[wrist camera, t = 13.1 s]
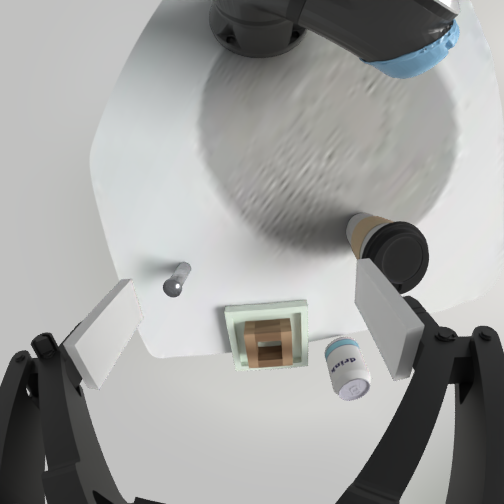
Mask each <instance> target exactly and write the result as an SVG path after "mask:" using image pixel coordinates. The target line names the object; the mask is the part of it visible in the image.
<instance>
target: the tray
mask: <svg viewBox="0 0 504 504" xmlns="http://www.w3.org/2000/svg"><path fill="white" fill-rule="evenodd" d="M224 314H225V319H226V324H227V329H228V334H229V340H230V345H231V350H232V354H233V359H234V364H235V369H236V371H248V370H266V369H280V368H292V367H302V366H308V304H307V300H299V301H289V302H277V303H265V304H252V305H238V306H226V307H225V311H224ZM284 318H290V323H291V330H292V354H293V365H290V366H278V367H264V368H249V365H248V359H247V353H246V346H245V340H244V327H245V321H258V320H272V319H284ZM279 345H281V341H268V342H258V347H266V346H279Z"/></svg>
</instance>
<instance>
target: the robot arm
mask: <svg viewBox="0 0 504 504" xmlns="http://www.w3.org/2000/svg"><path fill="white" fill-rule="evenodd" d="M460 12H461V9H460V4H459V0H214V1H213V3H212V6H211V9H210V14H209V21H210V26H211V29H212V31H213V33H214V35H215V37H216V38H217V40H218V41H219V42H220V43H221V44H222V45H223V46H224V47H226V48H227V49H229V50H230V51H232V52H234V53H237V54H239V55H243V56H247V57H254V58H266V57H273V56H277V55H280V54H283V53H286V52H288V51H290V50H291V49H293V48H294V47H296V46H297V45H298V44H299V43H300V42H301V41H302V39H303V38H304V36H305V34H306V32H307V29H308V30H310V31H312V32H314V33H316V34H318V35H320V36H322V37H324V38H326V39H328V40H330V41H332V42H334V43H335V44H337V45H339V46H341V47H343V48H344V49H346V50H348V51H349V52H351V53H353V54H354V55H356V56H358V57H359V59H360V60H361V61H362V62H364V63H366V64H369V65H372V66H374V67H375V68H377V69H378V70H380V71H382V72H383V73H385V74H386V75H388V76H390V77H393V78H400V79H405V78H411V77H414V76H417V75H419V74H422V73H424V72H425V71H427V70H429V69H430V68H432V67H433V66H435V65H436V64H438V63H439V62H440V61H441V60H442V59H443V58H445V57H446V56H447V54H448V50H449V49H450V48H452V47H454V46H455V44H456V42H457V40H458V38H459V33H460V31H459V26H458V25H457V23H456V20H455V19H454V18H455V17H456V16H457V15H458V14H459V13H460ZM355 304H356V306H357V308H358V310H359V312H360V313H361V315H362V317H363V319H364V321H365V323H366V325H367V327H368V329H369V331H370V333H371V335H372V337H373V339H374V341H375V343H376V345H377V347H378V349H379V351H380V353H381V355H382V357H383V359H384V361H385V363H386V366H387V368H388V370H389V372H390V374H391V376H392V379H393V381H396V380H400V379H405V378H408V377H410V374H411V371H412V368H413V369H414V370H415V372H414V374H413V377H412V379H411V381H410V384H409V386H408V388H407V390H406V392H405V395H404V397H403V399H402V401H401V403H400V405H399V407H398V409H397V411H396V413H395V415H394V417H393V419H392V421H391V422H390V425H389V426H388V428H387V430H386V432H385V433H384V435H383V437H382V439H381V440H380V442H379V444H378V445H377V447H376V449H375V450H374V452H373V454H372V455H371V457H370V458H369V460H368V462H367V463H366V464H365V466H364V468H363V469H362V470H361V472H360V473H359V475H358V476H357V478H356V479H355V480H354V482H353V483H352V484H351V485H350V486H349V487H348V488H347V490H346V491H345V492H344V493H343V495H342V496H341V497H340V498H339V500H338V501H337V502H336V503H335V504H399V500H400V498H401V496H402V494H403V492H404V491H405V489H406V487H407V485H408V483H409V481H410V479H411V477H412V476H413V474H414V472H415V469H416V467H417V465H418V463H419V461H420V459H421V457H422V455H423V452H424V450H425V448H426V445H427V443H428V441H429V438H430V436H431V433H432V430H433V428H434V425H435V423H436V420H437V417H438V414H439V411H440V408H441V405H442V402H443V399H444V395H445V392H446V389H447V385H448V384H455V435H454V450H453V461H452V470H451V476H450V483H449V489H448V494H447V499H446V504H504V352H503V349H502V346H501V342H500V339H499V336H498V334H497V332H496V331H495V330H494V329H492V328H490V327H488V326H478V327H476V328H475V329H474V331H473V333H472V336H469V337H458V336H457V334H456V332H455V331H453V330H452V329H450V328H447V327H439V326H438V324H437V323H436V322H435V321H434V319H433V318H432V317H431V316H430V315H429V313H428V312H426V310H425V309H424V307H422V305H421V304H420V303H419V302H418V300H416V299H414V298H412V297H411V296H405V297H402V296H401V295H400V294H399V293H398V291H397V290H396V289H395V288H394V286H393V285H392V284H391V283H390V282H389V280H388V279H387V278H386V277H385V276H384V275H383V273H382V272H381V271H380V270H379V269H378V268H377V266H376V265H375V264H374V263H373V262H372V261H371V260H370V258H367V259H358V260H357V268H356V289H355ZM143 318H144V316H143V313H142V310H141V307H140V304H139V301H138V298H137V294H136V291H135V288H134V285H133V281H132V279H122V280H121V281H120V282H119V283H118V284H117V285H116V286H115V287H114V288H113V289H112V290H111V291H110V292H109V293H108V294H107V295H106V296H105V297H104V299H102V301H101V302H100V303H99V304H98V305H97V306H96V307H95V308H94V309H93V310H92V312H90V313H89V315H88V316H87V317H86V318H85V319H84V320H83V321H82V322H80V323H79V324H78V325H77V326H76V327H75V328H74V330H72V332H71V333H70V334H69V335H68V336H67V337H66V338H65V340H64V341H63V342H62V343H61V344H60V346H59V347H58V345H57V343H56V341H55V340H54V338H53V336H52V334H51V333H42V334H40V335H38V336H37V337H35V338H34V339H33V340H32V342H31V346H32V348H33V349H34V351H35V353H36V355H37V357H38V358H31V356H30V354H29V352H28V351H26V350H25V351H19V352H18V353H16V354H15V355H14V356H13V357H12V359H11V361H10V363H9V366H8V368H7V371H6V373H5V375H4V378H3V381H2V383H1V386H0V504H45V496H46V500H47V504H164V503H160V502H155V501H150V500H146V499H142V498H138V497H135V501H134V503H127V502H126V501H125V500H124V499H123V497H122V496H121V494H120V493H119V491H118V489H117V487H116V484H115V482H114V480H113V478H112V476H111V473H110V471H109V468H108V466H107V464H106V461H105V459H104V456H103V453H102V451H101V448H100V445H99V443H98V440H97V437H96V434H95V431H94V428H93V425H92V421H91V419H90V415H89V412H88V408H87V404H86V401H85V397H84V393H83V389H82V387H81V386H80V382H81V380H82V379H83V381H84V382H85V384H86V386H87V387H88V388H92V389H97V390H100V388H101V386H102V385H103V383H104V381H105V380H106V378H107V376H108V374H109V373H110V371H111V369H112V368H113V366H114V364H115V363H116V361H117V359H118V357H119V356H120V355H121V353H122V351H123V350H124V348H125V346H126V345H127V343H128V342H129V340H130V338H131V337H132V335H133V334H134V332H135V330H136V329H137V327H138V326H139V324H140V323H141V321H142V319H143ZM26 388H27V389H28V391H29V392H30V395H29V396H28V394H27V390H26ZM45 454H46V460H47V465H48V471H44V470H45Z"/></svg>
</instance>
